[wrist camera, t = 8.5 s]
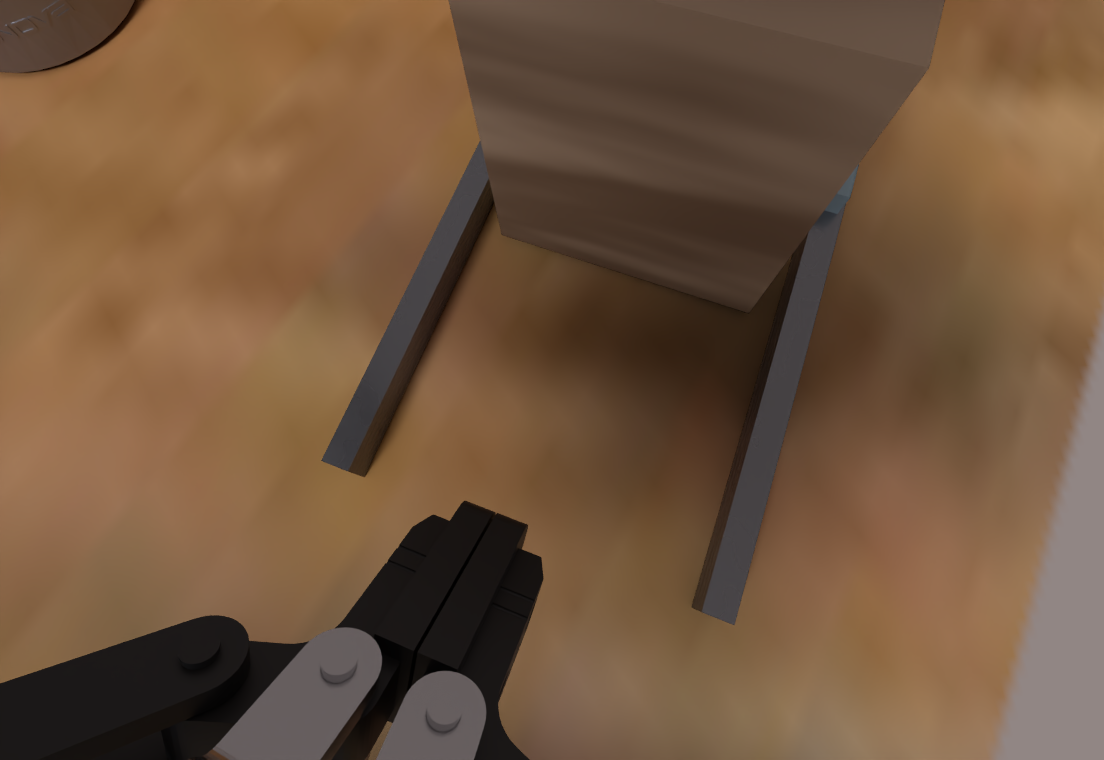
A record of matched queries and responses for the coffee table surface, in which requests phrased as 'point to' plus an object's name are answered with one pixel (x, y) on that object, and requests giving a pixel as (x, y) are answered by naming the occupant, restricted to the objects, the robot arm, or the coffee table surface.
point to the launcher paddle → (683, 124)
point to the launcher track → (761, 425)
